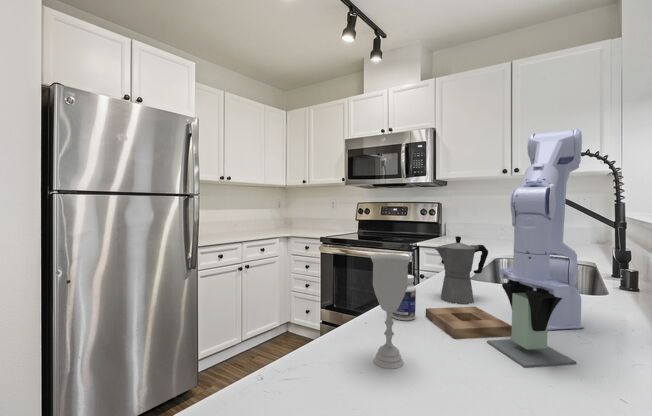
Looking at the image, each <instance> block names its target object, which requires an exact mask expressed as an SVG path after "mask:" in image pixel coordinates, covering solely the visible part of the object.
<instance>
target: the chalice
mask: <svg viewBox="0 0 652 416" xmlns="http://www.w3.org/2000/svg"><path fill="white" fill-rule="evenodd" d="M411 259H412V257H411V256H408V255H403V254H395V253H379V254H372V255H370V260H371V261H372V287H373V290H374V295H375V297H376V299H377V302H378V303H379V307H380V308H381V310H382V311H385V313H386V319H385V321H384V324H385V326H386V330H385V331H384V332H383V334H384V336H385V339H386V341H385V343H384V344H383V345H381V346H380V347H379V348H378V349H377V352H376V353H375V357H374V358H373V362H374V364H375V365H376V366H378V367H381V368H383V369H387V370H388V369H389V370H390V369H392V370H394V369H398V368H401V367H403V365H404V360H403V358H402V355H401V353H400V350H399V348H398V347H396V346H395V345H394V344H393V342H392V340H393V339H392V338H393V336H394V335H395V333H394V331H393V325H394V323H395V322H394V321H393V317H392V313H393V312H394V311H396V310H398V308H399V306H400V304H401V302H402V300H403V298H404V295H405V292H406V289H407V287H408V275H409V263H410V262H411Z"/></svg>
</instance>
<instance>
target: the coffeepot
mask: <svg viewBox="0 0 652 416" xmlns="http://www.w3.org/2000/svg"><path fill="white" fill-rule="evenodd" d="M461 239H462V237H461V236H458V235H457V236H455V242H452V243H446V244H441V245H440V246H436V247H435V248H434V250H436V251H437V253H438V254H439V256H440V257H441V260H442V262H443V268H444V278H443V281H442V288H441V294H440V299H441V300H442V301H444V302H446V301H447V303H450V302H451V303H450V304H455V303H457V304H456V305H469V303H470V304H473V303H475V301H474V295H473V294H474V293H473V286H472V280H471V273H472V270H473V263H474V258H475V253H477V252H481V254H480V259H479V261H478V265H477V269H475V270H473V274H481V273H482V272H483V270H484V266H485V263H486V260H487V258H488V256H489V250H488V249H487V248H486V246H485V245H483V244H471V245H469V244H465V243H462V242H461ZM472 302H473V303H472Z"/></svg>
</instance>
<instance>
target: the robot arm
mask: <svg viewBox="0 0 652 416" xmlns="http://www.w3.org/2000/svg"><path fill="white" fill-rule="evenodd" d="M526 145H527V156H528V158H529V161H530V165H529V166H528V167H527V168H526V170H525V172H524V175H523V178H522V180H521V183H520V186H519V187H517V189H513V190H512V192H511V196H510V201H509V202H510V204H509V205H510V212H511V227H514V228H513V263H512V265H513V266H512V268H510V267H500V268H499V278H500V279H506V280H508V281H507V282H503V283H501V287H502V289H503V290H504V292H505V294H506V296H507V298H508V301H509V304H510V307H511V309H512V296H513V293H526V295H527V298H528V301H529V304H530V309H531V323H532V329H533V330H534V331H545V330H546V327H547V324H548V330H547V331H549V330H551V331H552V330H569V329H584V328H585V325H583V324H582V323H581V322H582V320H581V319H582V318H581V317H582V296H581V293H580V291H579V290H578V288H576V287H575V285H576V284H577V280H578V269H579V268H578V254H577V253H576V251H575V250H574V249H573V248H571V247H570V246H569V245H567V244H565V243H564V235H565V234H564V231H565V218H566V217H565V215H566V214H565V213H566V201H567V199H566V198H567V185H568V184H567V182H568V180H569V177H570V173H571V172H573V171H576V170H578V169H579V168H580V164H581V161H582V159H581V158H582V148H583V147H582V146H583V136H582V131H581V130H580V129H579V128H575V129H569V130H560V131H549V132H540V133H531V134H530V135H528V138H527V144H526Z"/></svg>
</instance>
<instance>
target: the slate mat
mask: <svg viewBox="0 0 652 416" xmlns="http://www.w3.org/2000/svg"><path fill="white" fill-rule="evenodd" d="M486 344H488V345H490V346H491V347H493V348H494V349H496V350H497V351H499V352H501V354H503V355H505V356H506V357H508V358H509V359H511V360H513V361H514V362H515V363H517V364H518V365H519V366H522V367H523V368H537V367H539V368H540V367H552V366H564V365H565V366H567V365H577V361H576V360H574V359H572V358H570V357H568V356H567V355H565V354H563V353H561V352H559V351H557V350H555V349H554V348H552V347H550V346H549V345H547V348H544V349H525V348H524V347H522V346H520V345H519V344H517V343H515V342H513V341H512V340H511V338H510V339H507V338H506V339H492V340H489V339H488V340H486Z"/></svg>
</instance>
